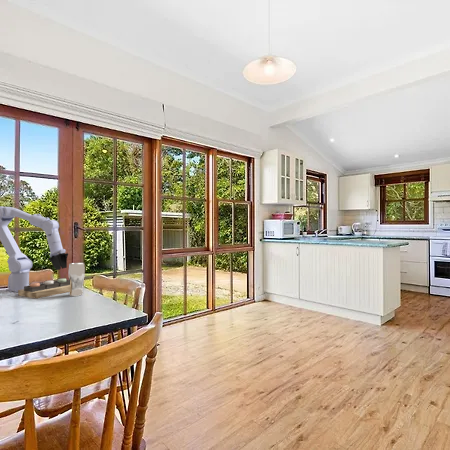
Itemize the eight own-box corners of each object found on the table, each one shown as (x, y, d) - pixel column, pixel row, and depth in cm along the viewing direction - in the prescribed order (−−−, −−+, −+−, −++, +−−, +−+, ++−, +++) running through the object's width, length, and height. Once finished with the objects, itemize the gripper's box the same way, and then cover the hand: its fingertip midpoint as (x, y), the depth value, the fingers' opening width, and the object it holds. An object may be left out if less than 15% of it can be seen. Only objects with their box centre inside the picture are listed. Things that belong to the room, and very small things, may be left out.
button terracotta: (27, 287, 144) (27, 283, 144) (36, 286, 148) (36, 282, 148) (33, 288, 143) (33, 284, 143) (41, 287, 146) (41, 283, 146)
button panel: (18, 295, 145) (18, 285, 145) (59, 287, 164) (59, 279, 164) (36, 298, 139) (36, 288, 139) (77, 290, 158) (77, 281, 158)
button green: (55, 282, 157) (55, 279, 157) (62, 281, 160) (63, 278, 160) (61, 283, 155) (61, 280, 155) (68, 282, 159) (68, 278, 159)
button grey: (42, 285, 151) (42, 281, 151) (50, 283, 154) (50, 280, 154) (47, 285, 149) (47, 282, 149) (55, 284, 152) (55, 281, 152)
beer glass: (80, 296, 144) (80, 264, 144) (65, 296, 144) (65, 264, 144) (87, 293, 150) (87, 262, 151) (72, 293, 151) (73, 262, 151)
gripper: (68, 239, 155) (75, 265, 155) (57, 243, 164) (63, 268, 164) (53, 241, 149) (60, 268, 149) (43, 246, 159) (49, 272, 158)
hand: (61, 269), depth 156 cm, fingers open, 7 cm apart
